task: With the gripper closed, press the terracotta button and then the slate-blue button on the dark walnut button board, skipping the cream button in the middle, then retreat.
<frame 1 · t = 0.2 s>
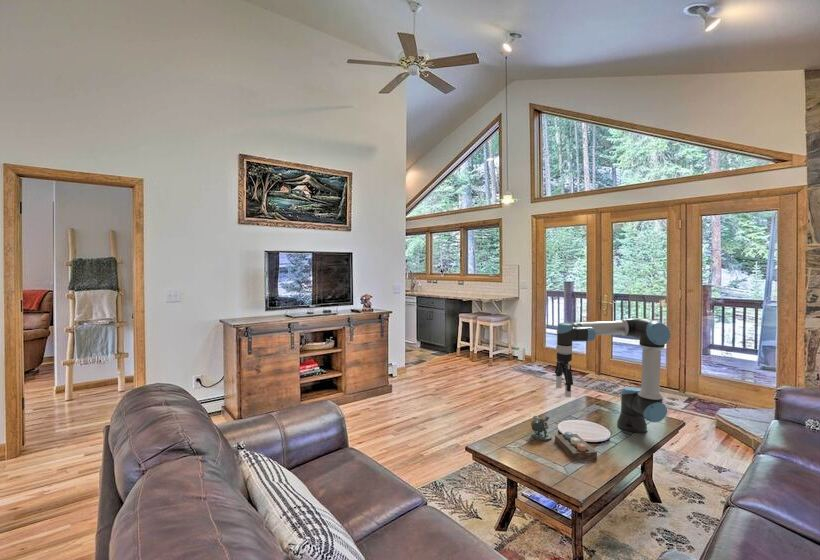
hand: (563, 392, 212), 28 cm above the table, fingers open, 13 cm apart
button board: (574, 449, 207), on the table
button terracotta: (581, 448, 200), point 4 cm above the table, slide at 0.0 cm
button slate: (568, 436, 213), point 4 cm above the table, slide at 0.0 cm
button cream: (575, 442, 206), point 4 cm above the table, slide at 0.0 cm
figurine: (541, 437, 222), on the table
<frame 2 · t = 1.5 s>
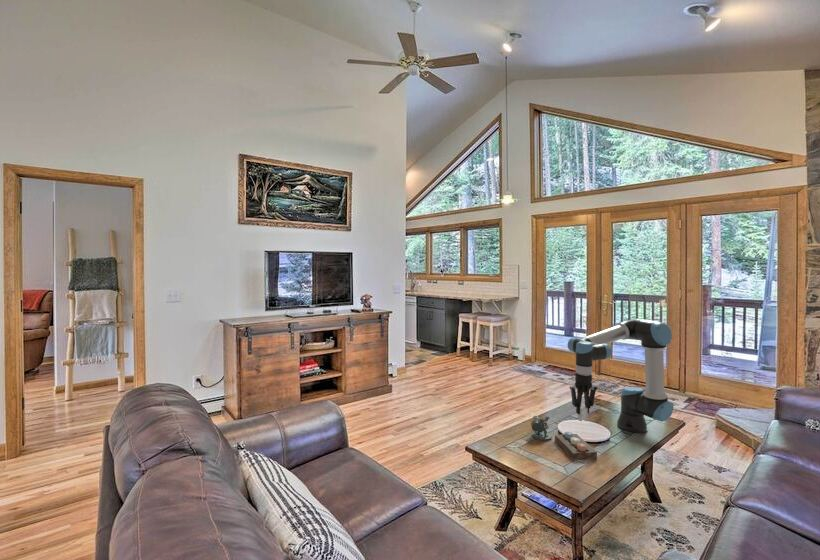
hand: (582, 419, 199), 18 cm above the table, fingers open, 2 cm apart
nothing on the table moved.
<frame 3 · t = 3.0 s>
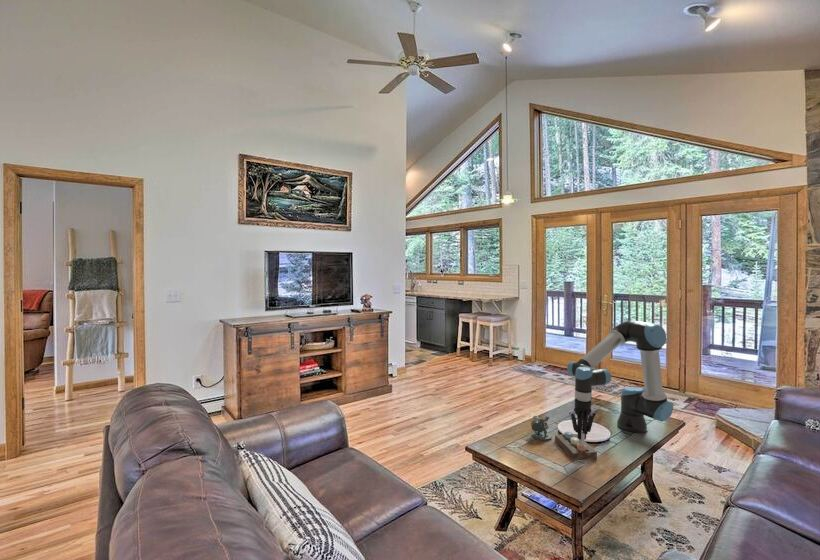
hand: (581, 445, 200), 6 cm above the table, fingers closed
button terracotta: (581, 448, 200), point 4 cm above the table, slide at 0.2 cm, touching gripper
everything else where it was.
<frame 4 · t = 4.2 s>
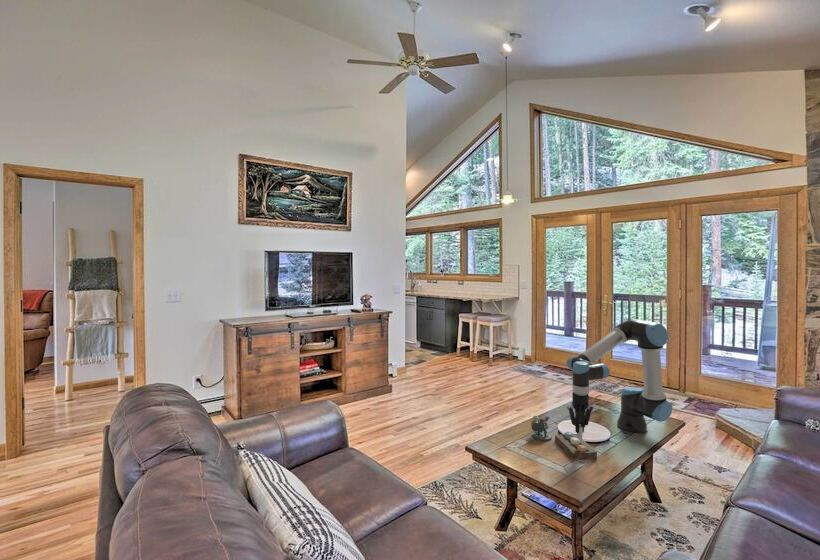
hand: (579, 438, 203), 8 cm above the table, fingers closed
button terracotta: (581, 449, 200), point 3 cm above the table, slide at 0.8 cm
everything else where it was.
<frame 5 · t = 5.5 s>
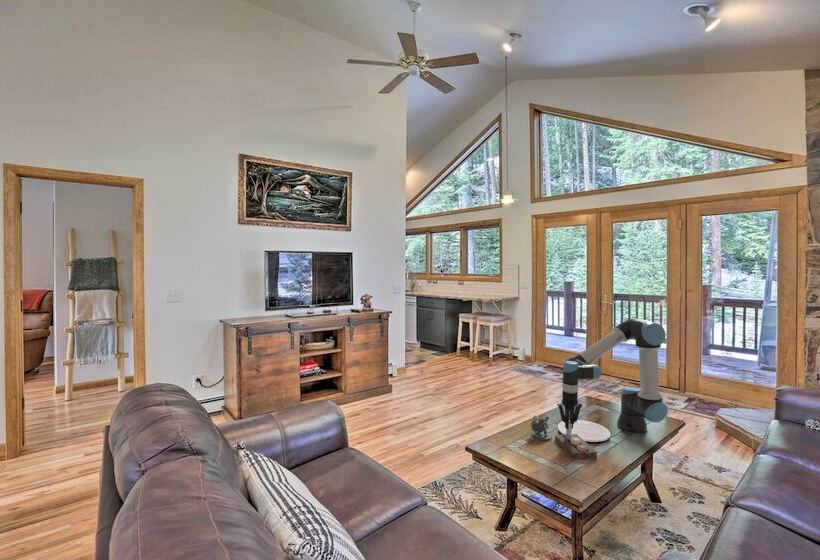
hand: (568, 434, 213), 5 cm above the table, fingers closed
button slate: (568, 437, 213), point 3 cm above the table, slide at 0.8 cm, touching gripper
everything else where it was.
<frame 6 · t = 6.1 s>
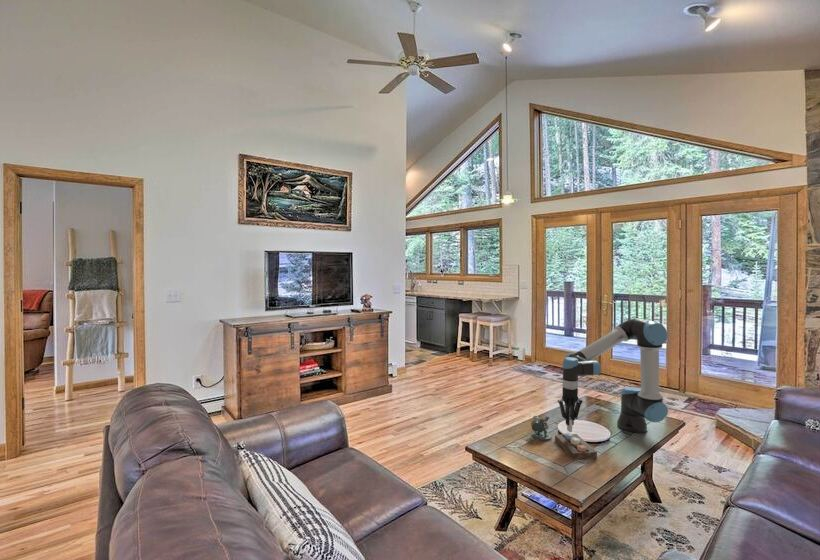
hand: (569, 430, 213), 7 cm above the table, fingers closed
button slate: (568, 437, 213), point 3 cm above the table, slide at 0.8 cm
everything else where it was.
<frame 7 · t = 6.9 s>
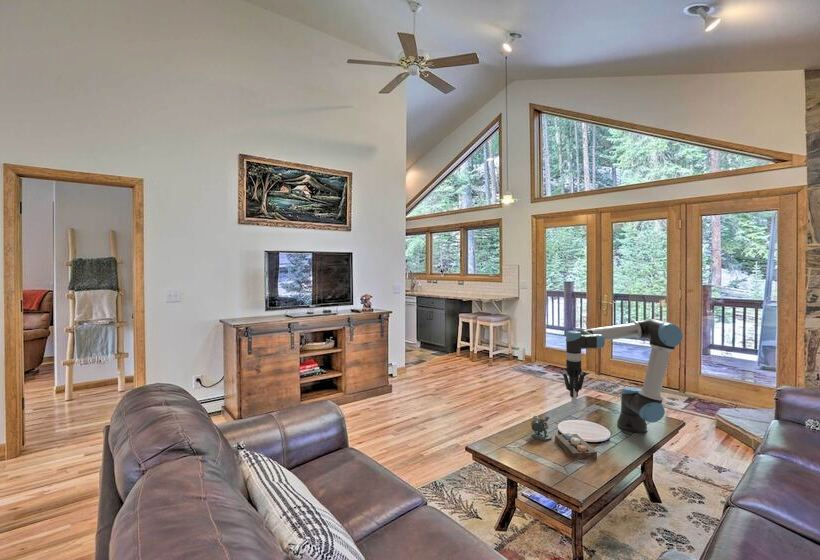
hand: (574, 402, 218), 20 cm above the table, fingers closed
nothing on the table moved.
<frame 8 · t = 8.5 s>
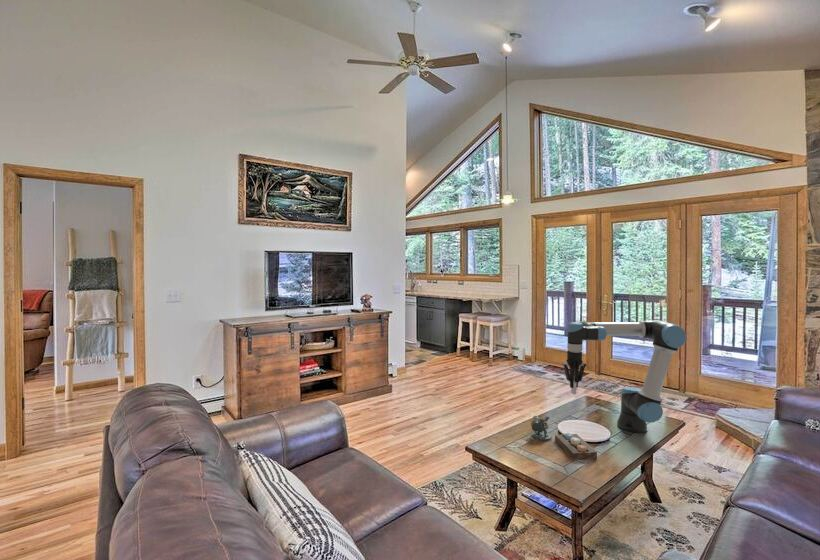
hand: (573, 393, 219), 24 cm above the table, fingers closed
nothing on the table moved.
at the end: button terracotta slide at 0.8 cm; button slate slide at 0.8 cm; button cream slide at 0.0 cm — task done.
